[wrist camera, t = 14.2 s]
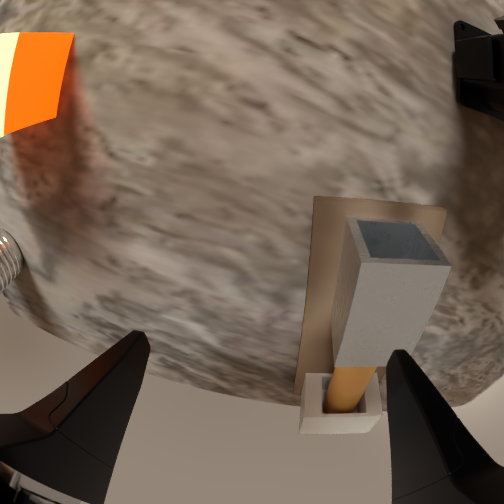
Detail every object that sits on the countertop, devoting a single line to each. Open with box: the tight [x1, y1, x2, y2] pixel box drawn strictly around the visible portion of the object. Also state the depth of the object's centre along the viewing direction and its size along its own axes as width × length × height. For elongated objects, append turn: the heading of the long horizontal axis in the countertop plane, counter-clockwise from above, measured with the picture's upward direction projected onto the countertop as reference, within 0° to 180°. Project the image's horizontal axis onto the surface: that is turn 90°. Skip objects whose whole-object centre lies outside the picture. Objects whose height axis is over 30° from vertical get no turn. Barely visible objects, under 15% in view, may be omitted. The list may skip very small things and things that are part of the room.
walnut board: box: [293, 196, 448, 394], centre depth 24 cm, size 10×24×1 cm, turn 2°
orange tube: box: [323, 367, 377, 414], centre depth 23 cm, size 4×13×4 cm, turn 2°
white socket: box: [299, 373, 383, 434], centre depth 26 cm, size 8×5×5 cm, turn 92°
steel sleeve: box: [330, 216, 452, 367], centre depth 18 cm, size 6×9×5 cm, turn 2°
